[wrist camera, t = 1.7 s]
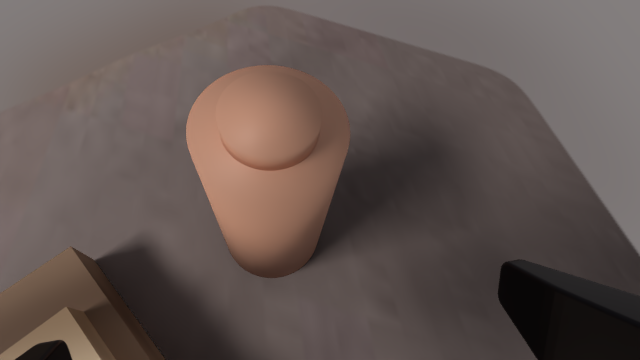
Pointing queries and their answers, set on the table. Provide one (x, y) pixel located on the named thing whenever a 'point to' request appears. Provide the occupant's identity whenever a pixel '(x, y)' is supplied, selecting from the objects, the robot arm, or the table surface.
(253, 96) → the lidded jar
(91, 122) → the table surface
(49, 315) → the plinth
